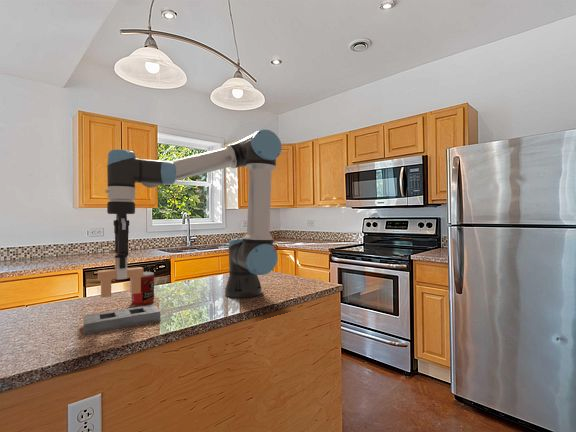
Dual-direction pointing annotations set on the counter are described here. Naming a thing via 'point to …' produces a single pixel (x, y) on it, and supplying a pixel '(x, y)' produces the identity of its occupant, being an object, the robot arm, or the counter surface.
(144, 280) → the canned food
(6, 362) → the counter surface
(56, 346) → the counter surface
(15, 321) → the counter surface
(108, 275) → the clip
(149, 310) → the grey slotted base
